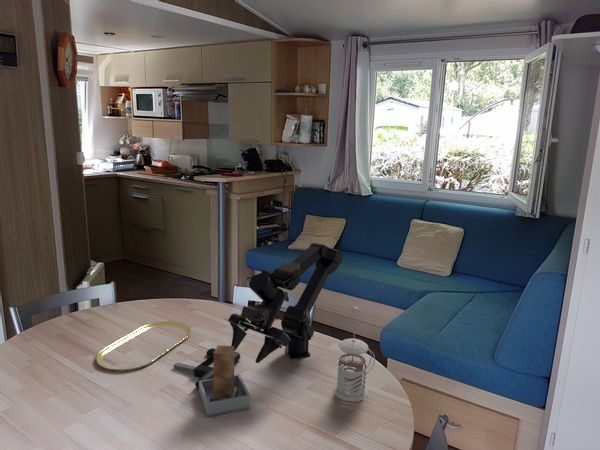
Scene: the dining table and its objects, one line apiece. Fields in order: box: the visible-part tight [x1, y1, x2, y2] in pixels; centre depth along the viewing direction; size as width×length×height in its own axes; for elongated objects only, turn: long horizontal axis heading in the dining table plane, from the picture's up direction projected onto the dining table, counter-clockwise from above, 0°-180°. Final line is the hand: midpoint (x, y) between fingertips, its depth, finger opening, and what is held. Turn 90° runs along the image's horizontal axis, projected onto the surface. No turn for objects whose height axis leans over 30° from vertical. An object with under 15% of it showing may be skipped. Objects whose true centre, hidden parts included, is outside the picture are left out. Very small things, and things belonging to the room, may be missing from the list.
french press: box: [332, 306, 376, 403], centre depth 126 cm, size 10×12×25 cm
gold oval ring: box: [95, 320, 192, 372], centre depth 150 cm, size 19×35×2 cm, turn 159°
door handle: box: [173, 348, 241, 391], centre depth 137 cm, size 3×20×16 cm
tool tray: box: [198, 373, 251, 418], centre depth 121 cm, size 11×11×4 cm
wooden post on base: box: [210, 344, 238, 402], centre depth 120 cm, size 6×6×14 cm
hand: (243, 357), depth 126 cm, fingers open, 9 cm apart
